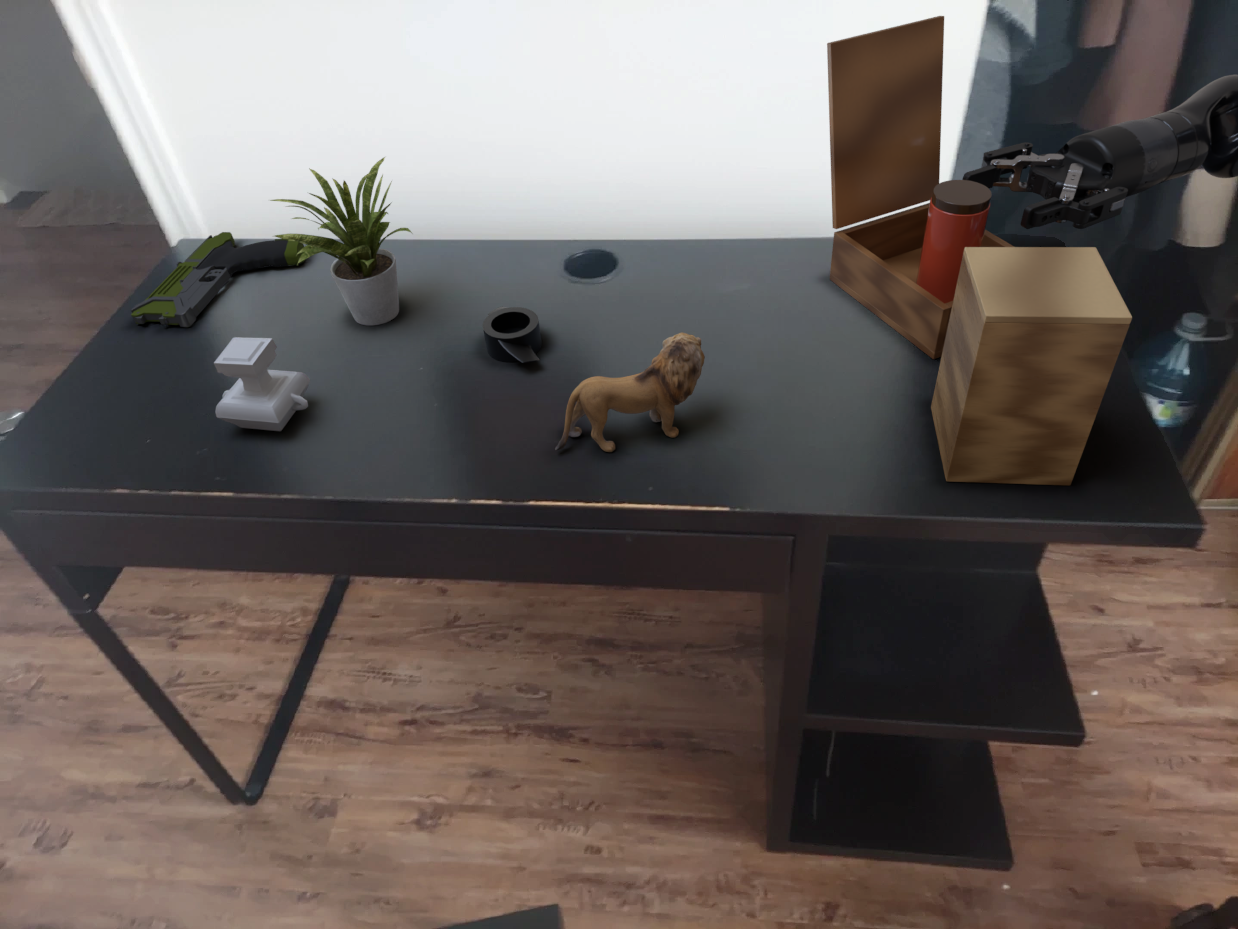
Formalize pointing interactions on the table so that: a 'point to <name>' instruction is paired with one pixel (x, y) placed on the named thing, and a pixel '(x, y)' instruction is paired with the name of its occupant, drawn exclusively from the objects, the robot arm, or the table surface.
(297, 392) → the stamp
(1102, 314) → the cork trivet
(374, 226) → the house plant
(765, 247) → the table surface
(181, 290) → the gun
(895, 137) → the box lid
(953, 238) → the spice jar
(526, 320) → the duct tape
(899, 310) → the wooden box
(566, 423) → the lion figurine
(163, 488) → the table surface
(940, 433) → the oak stand
